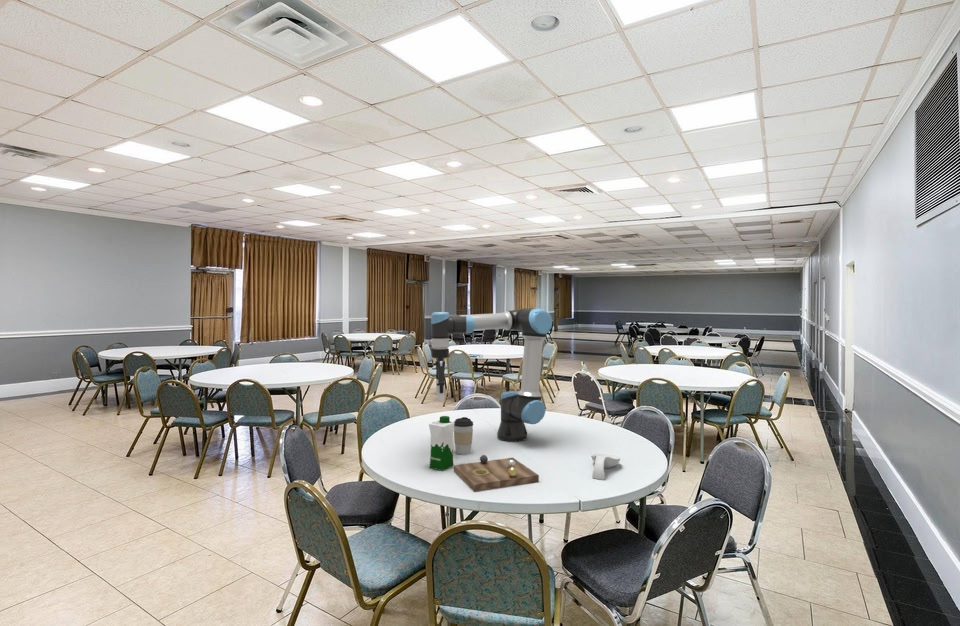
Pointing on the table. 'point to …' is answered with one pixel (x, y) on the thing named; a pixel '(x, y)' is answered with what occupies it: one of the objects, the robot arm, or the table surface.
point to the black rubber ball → (483, 459)
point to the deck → (494, 474)
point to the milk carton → (441, 443)
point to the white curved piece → (603, 464)
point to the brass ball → (512, 471)
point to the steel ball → (511, 463)
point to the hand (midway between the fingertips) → (440, 397)
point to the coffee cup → (463, 435)
